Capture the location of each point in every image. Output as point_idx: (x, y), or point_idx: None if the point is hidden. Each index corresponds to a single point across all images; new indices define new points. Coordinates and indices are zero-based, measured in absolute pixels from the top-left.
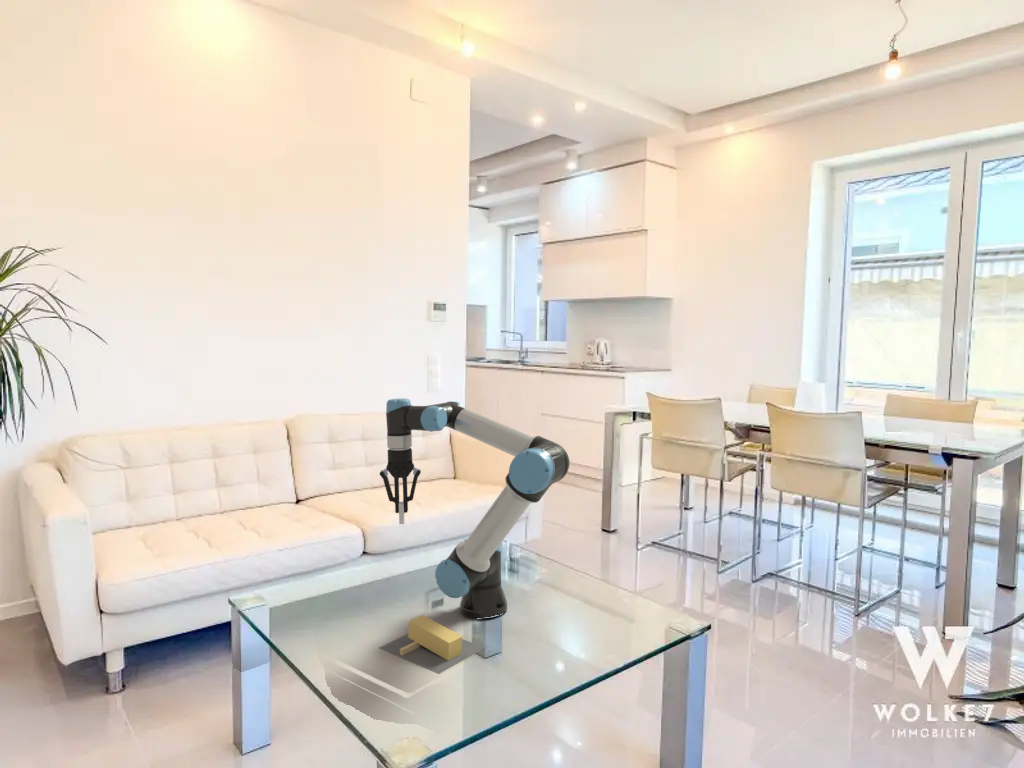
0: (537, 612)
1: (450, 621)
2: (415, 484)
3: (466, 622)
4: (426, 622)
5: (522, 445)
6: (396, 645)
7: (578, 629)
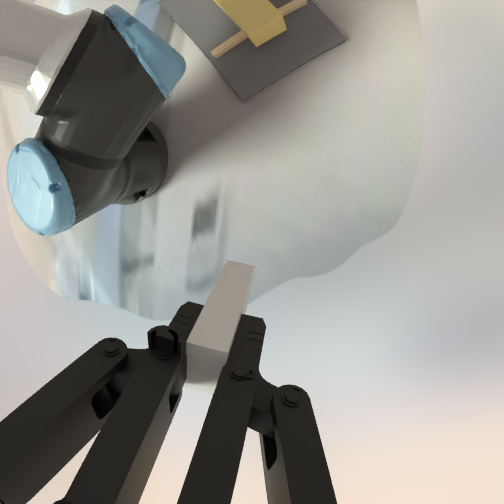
0: None
1: (191, 122)
2: (8, 420)
3: (164, 111)
4: (244, 7)
5: None
6: (310, 35)
7: None
